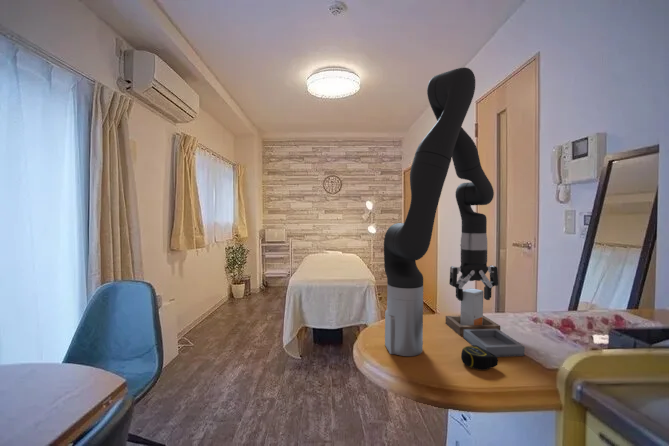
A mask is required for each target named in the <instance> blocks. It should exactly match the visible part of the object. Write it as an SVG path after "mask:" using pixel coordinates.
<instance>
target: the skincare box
mask: <svg viewBox="0 0 669 446" xmlns="http://www.w3.org/2000/svg"><path fill="white" fill-rule="evenodd" d="M460 315H461V318H460V324H461V325H483V316H484V289H483V290H481V289H477V288H466V289H463V301H460Z"/></svg>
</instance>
